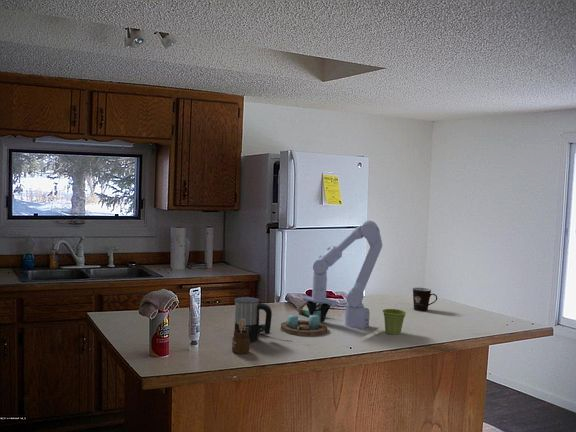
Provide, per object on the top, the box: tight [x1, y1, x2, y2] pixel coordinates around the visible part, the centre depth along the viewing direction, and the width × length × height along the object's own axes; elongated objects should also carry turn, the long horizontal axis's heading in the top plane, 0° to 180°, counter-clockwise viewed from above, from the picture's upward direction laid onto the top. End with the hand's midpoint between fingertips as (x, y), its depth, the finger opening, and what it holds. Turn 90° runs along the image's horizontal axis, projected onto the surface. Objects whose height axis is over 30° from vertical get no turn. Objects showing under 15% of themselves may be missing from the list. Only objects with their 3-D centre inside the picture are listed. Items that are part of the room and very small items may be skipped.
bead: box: [287, 314, 299, 330], centre depth 238 cm, size 4×4×5 cm
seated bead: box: [308, 315, 319, 330], centre depth 240 cm, size 4×4×5 cm
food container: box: [296, 297, 328, 317], centre depth 266 cm, size 12×6×10 cm
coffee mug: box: [412, 286, 438, 312], centre depth 290 cm, size 12×9×10 cm
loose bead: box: [313, 311, 323, 324], centre depth 253 cm, size 4×4×5 cm
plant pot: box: [382, 308, 407, 335], centre depth 244 cm, size 9×9×9 cm
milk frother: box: [233, 296, 273, 343], centre depth 228 cm, size 14×16×15 cm
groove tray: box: [280, 319, 328, 337], centre depth 238 cm, size 18×18×2 cm
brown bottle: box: [231, 319, 251, 355], centre depth 208 cm, size 6×6×12 cm
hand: (317, 320), depth 253 cm, fingers closed on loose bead, 4 cm apart
